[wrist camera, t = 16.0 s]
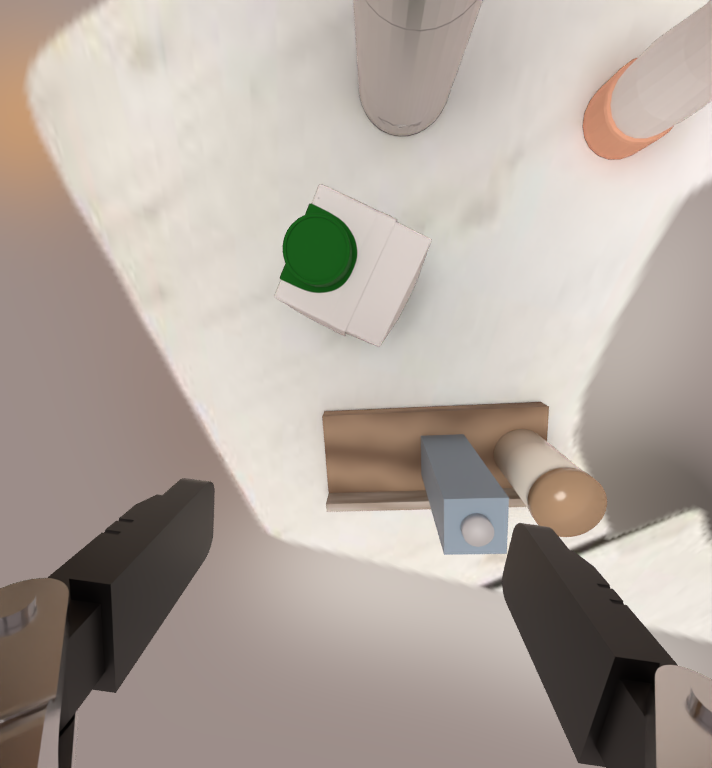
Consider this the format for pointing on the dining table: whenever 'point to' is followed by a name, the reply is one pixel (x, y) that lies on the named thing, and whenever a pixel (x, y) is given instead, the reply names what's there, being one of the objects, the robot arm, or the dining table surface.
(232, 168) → the dining table surface
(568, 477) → the jar
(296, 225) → the milk carton
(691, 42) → the salt shaker
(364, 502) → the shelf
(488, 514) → the tea tin
